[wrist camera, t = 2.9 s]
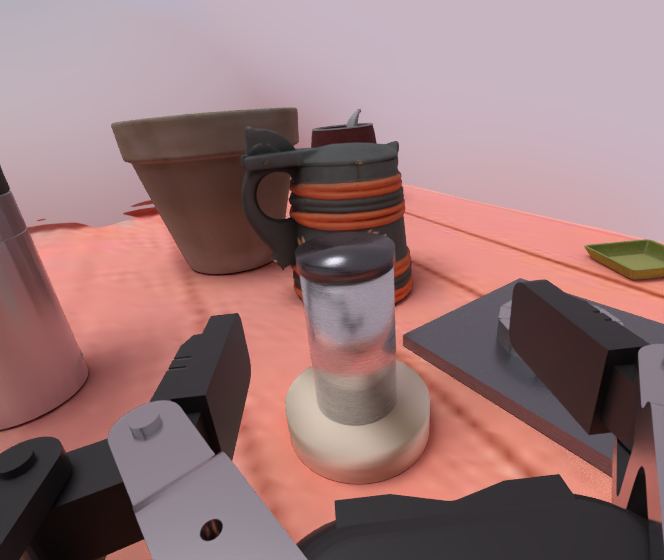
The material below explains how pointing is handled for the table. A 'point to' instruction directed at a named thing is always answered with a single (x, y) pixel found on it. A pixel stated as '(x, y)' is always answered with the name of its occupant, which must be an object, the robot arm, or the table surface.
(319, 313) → the glass jar with lid
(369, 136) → the mate gourd
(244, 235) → the plant pot
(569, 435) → the hub plate
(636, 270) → the olive green shallow tray
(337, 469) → the pedestal
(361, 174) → the beer stein
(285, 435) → the table surface
